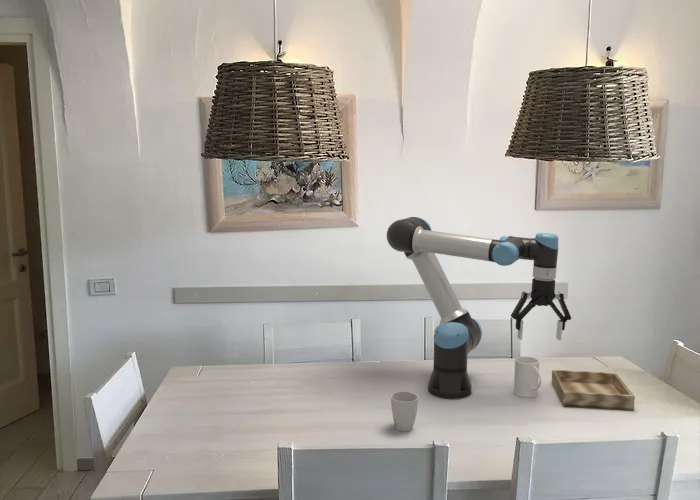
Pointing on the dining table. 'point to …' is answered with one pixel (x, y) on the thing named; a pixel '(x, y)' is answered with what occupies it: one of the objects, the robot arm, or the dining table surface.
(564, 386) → the tray
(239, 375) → the dining table surface
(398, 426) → the cup
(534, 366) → the mug
